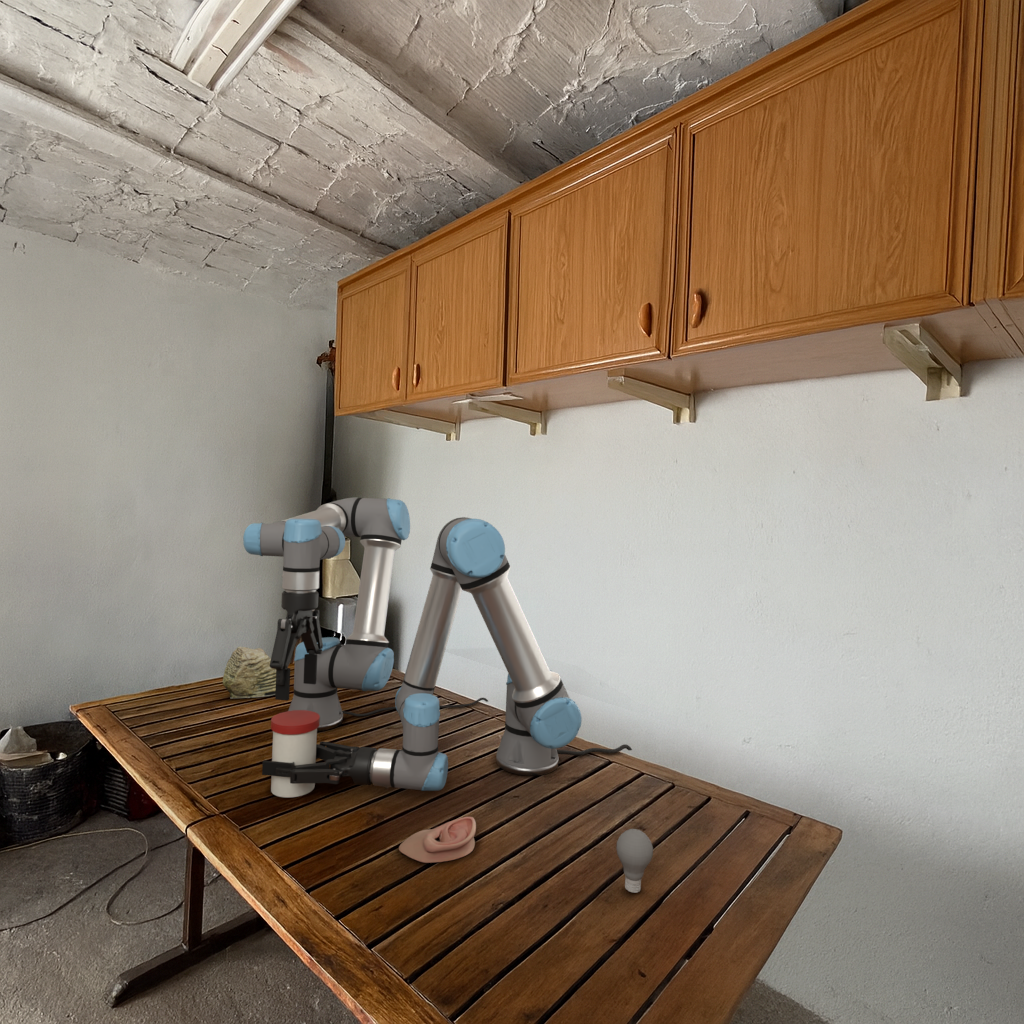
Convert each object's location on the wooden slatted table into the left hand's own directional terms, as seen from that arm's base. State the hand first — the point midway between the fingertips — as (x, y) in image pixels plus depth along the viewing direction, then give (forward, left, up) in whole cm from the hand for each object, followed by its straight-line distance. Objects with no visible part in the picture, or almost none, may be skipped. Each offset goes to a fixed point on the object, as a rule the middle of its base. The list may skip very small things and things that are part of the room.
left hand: (296, 691), depth 137 cm
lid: (0, 0, -6) cm, 6 cm away
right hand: (+2, -4, -15) cm, 16 cm away
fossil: (-27, -64, -21) cm, 72 cm away
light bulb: (-18, +73, -21) cm, 78 cm away
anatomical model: (-5, +39, -21) cm, 45 cm away
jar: (0, 0, -21) cm, 21 cm away
